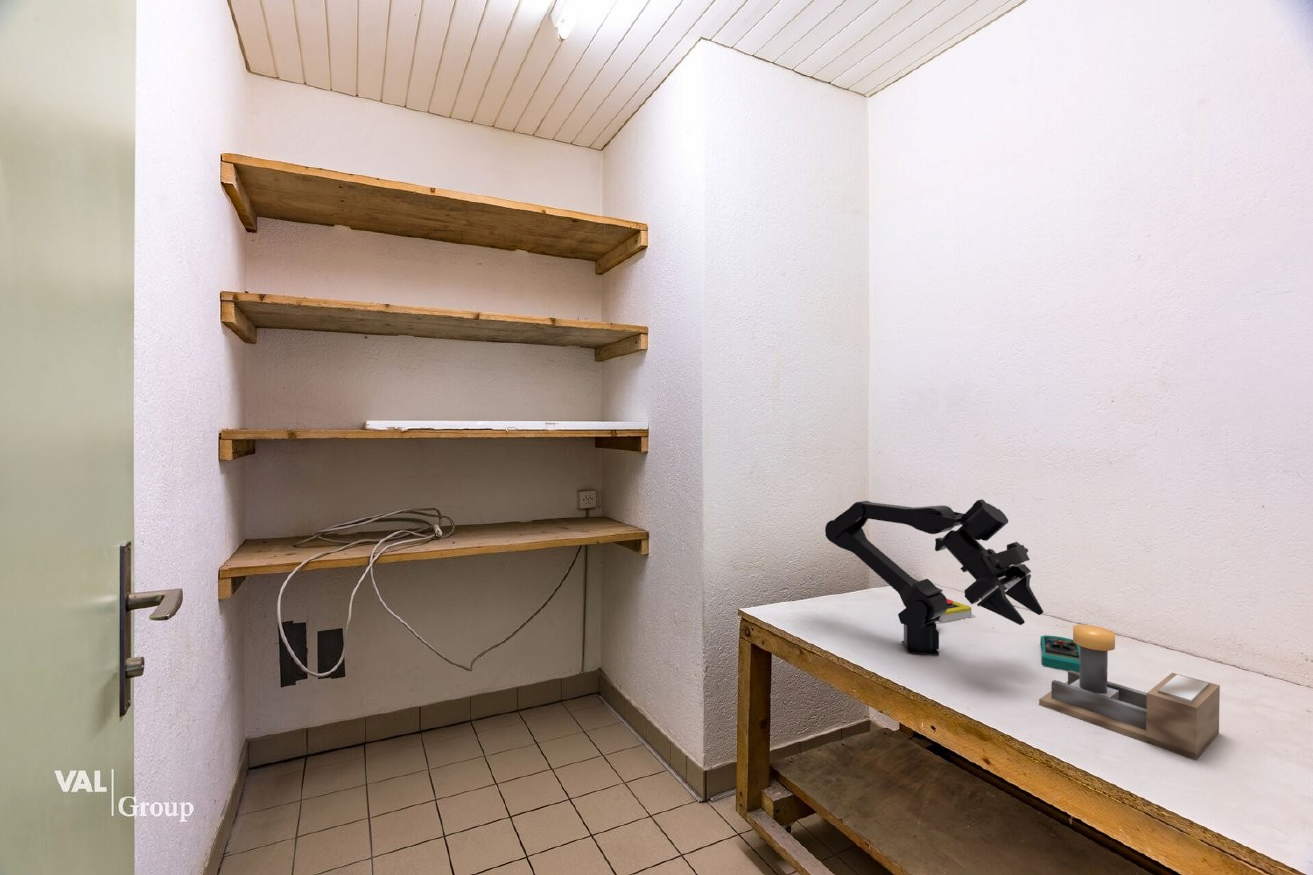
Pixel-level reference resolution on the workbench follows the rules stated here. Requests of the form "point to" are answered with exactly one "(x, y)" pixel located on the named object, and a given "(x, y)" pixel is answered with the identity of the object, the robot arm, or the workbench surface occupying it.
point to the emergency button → (955, 612)
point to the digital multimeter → (1060, 653)
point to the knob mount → (1148, 711)
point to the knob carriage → (1094, 658)
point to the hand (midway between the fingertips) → (1032, 618)
